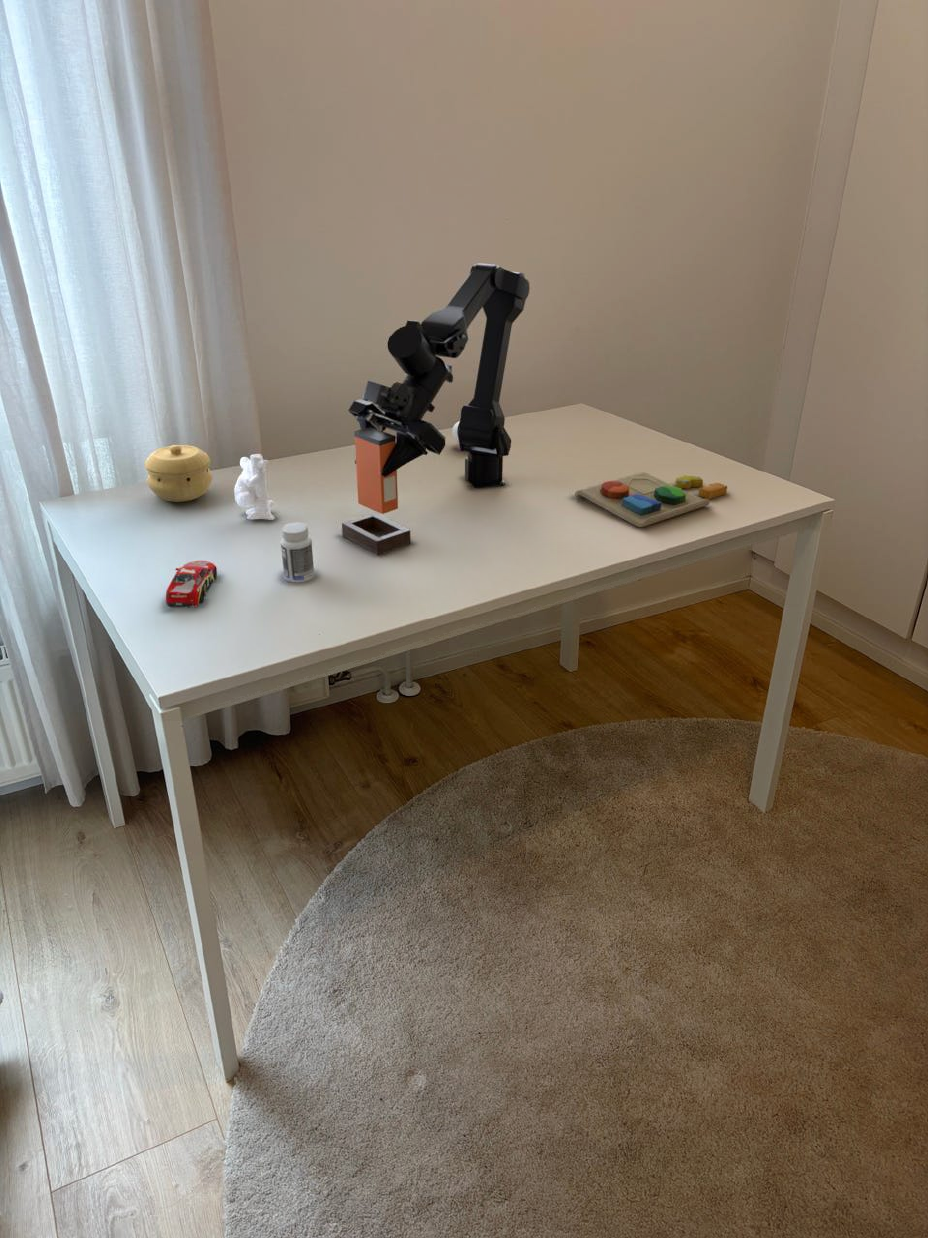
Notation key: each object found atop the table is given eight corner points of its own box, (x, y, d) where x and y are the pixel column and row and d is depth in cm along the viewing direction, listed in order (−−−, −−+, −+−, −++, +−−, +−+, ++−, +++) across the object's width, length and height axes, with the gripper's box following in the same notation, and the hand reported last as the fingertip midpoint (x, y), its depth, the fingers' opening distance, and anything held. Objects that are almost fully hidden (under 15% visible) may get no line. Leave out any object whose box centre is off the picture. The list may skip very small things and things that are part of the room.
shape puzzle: (645, 531, 166) (647, 513, 165) (571, 498, 180) (572, 481, 178) (740, 498, 180) (742, 481, 178) (664, 470, 193) (666, 454, 191)
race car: (188, 572, 152) (184, 549, 150) (222, 572, 152) (219, 549, 150) (161, 611, 140) (156, 587, 139) (197, 612, 140) (193, 588, 138)
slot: (375, 525, 168) (374, 512, 167) (410, 543, 162) (410, 530, 160) (342, 536, 164) (341, 522, 163) (377, 555, 158) (376, 541, 156)
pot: (202, 481, 187) (195, 431, 182) (224, 500, 178) (217, 448, 173) (141, 493, 181) (133, 442, 176) (161, 513, 172) (153, 460, 167)
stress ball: (486, 463, 206) (499, 434, 205) (465, 450, 199) (478, 420, 199) (461, 453, 210) (474, 425, 210) (439, 440, 204) (453, 411, 203)
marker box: (373, 498, 163) (370, 426, 156) (398, 508, 159) (396, 436, 152) (358, 503, 161) (354, 431, 154) (382, 514, 156) (379, 440, 150)
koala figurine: (286, 519, 170) (280, 454, 164) (251, 528, 167) (244, 462, 161) (265, 504, 176) (259, 441, 170) (231, 512, 173) (223, 449, 167)
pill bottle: (319, 572, 152) (315, 523, 148) (305, 585, 148) (301, 535, 144) (292, 568, 153) (288, 519, 149) (278, 580, 149) (273, 531, 145)
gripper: (354, 350, 156) (304, 430, 155) (431, 372, 145) (377, 459, 143) (392, 388, 165) (345, 464, 164) (468, 412, 153) (418, 494, 152)
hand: (369, 469), depth 155 cm, fingers closed on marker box, 6 cm apart
